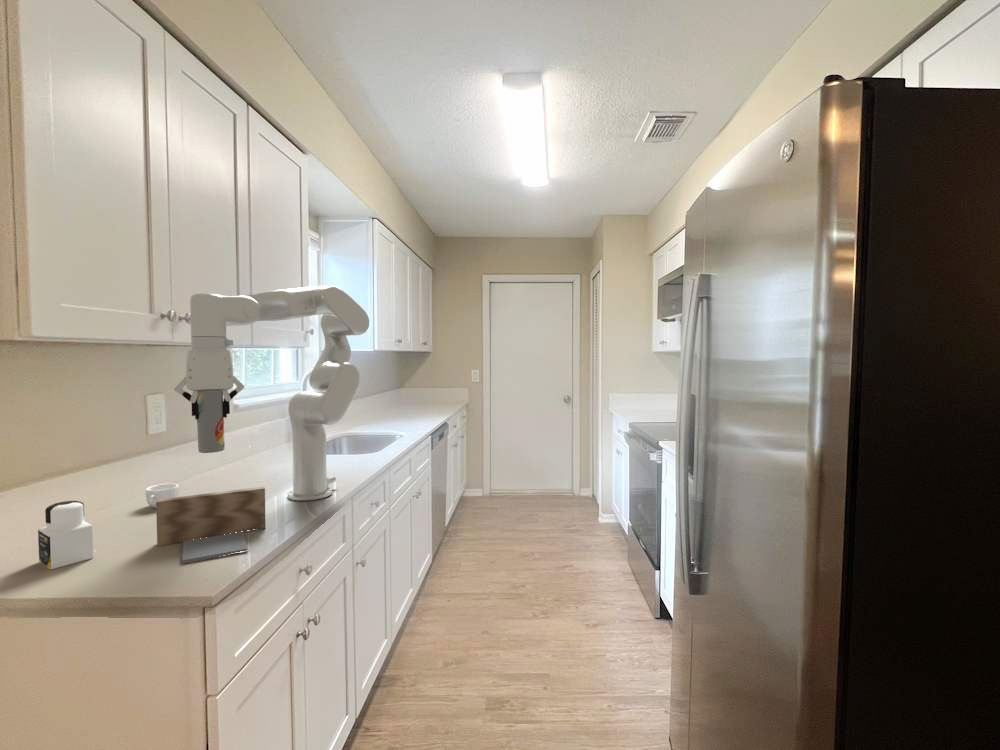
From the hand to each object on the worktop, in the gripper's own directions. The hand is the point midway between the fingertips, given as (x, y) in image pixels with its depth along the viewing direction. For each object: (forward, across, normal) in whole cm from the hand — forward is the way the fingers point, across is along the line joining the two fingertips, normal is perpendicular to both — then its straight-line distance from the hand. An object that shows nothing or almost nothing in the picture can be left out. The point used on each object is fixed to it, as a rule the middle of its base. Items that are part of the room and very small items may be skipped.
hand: (211, 417), depth 123 cm
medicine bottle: (+27, +27, +8) cm, 39 cm away
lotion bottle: (+9, 0, 0) cm, 9 cm away
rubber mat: (+27, 0, +17) cm, 32 cm away
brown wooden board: (+27, 0, +8) cm, 28 cm away
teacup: (+28, +12, -25) cm, 39 cm away
